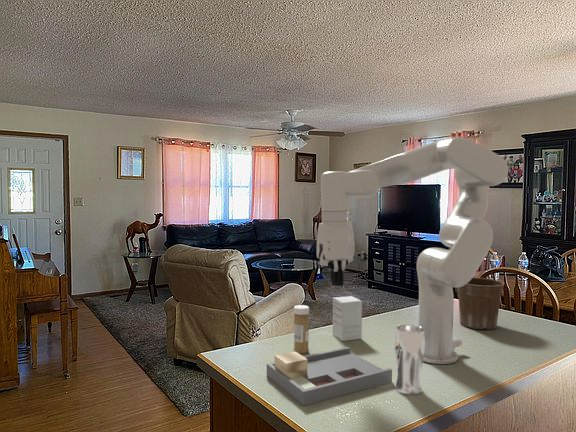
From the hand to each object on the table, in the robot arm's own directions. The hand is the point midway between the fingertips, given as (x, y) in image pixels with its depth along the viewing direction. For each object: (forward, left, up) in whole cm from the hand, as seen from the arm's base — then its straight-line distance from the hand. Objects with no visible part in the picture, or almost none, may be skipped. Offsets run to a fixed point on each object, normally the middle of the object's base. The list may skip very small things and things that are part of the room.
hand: (337, 284), depth 117 cm
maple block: (+16, +3, -20) cm, 26 cm away
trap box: (+7, +6, -22) cm, 24 cm away
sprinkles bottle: (+3, -14, -23) cm, 27 cm away
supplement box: (-17, -18, -23) cm, 33 cm away
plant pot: (-67, -6, -23) cm, 71 cm away
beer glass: (-7, +20, -23) cm, 31 cm away
